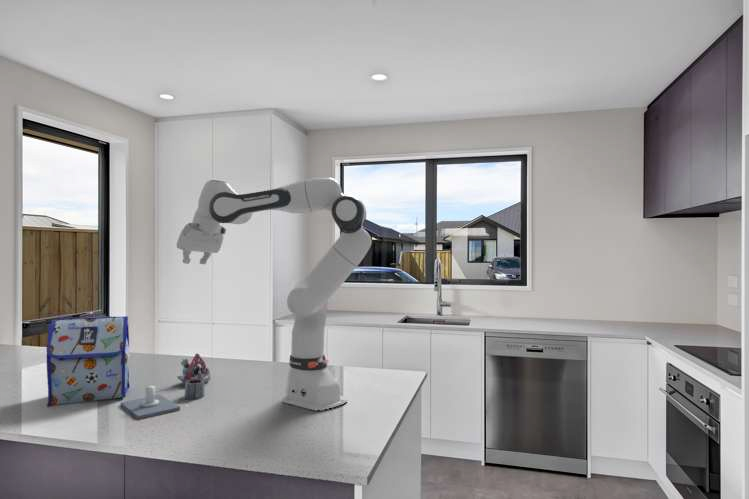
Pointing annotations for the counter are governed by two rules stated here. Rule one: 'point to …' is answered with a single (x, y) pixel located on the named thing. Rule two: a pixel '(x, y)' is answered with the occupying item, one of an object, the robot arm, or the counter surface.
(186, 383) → the hub ring
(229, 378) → the counter surface
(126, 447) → the counter surface
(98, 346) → the lunch bag
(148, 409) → the post block
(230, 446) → the counter surface
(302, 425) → the counter surface
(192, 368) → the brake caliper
